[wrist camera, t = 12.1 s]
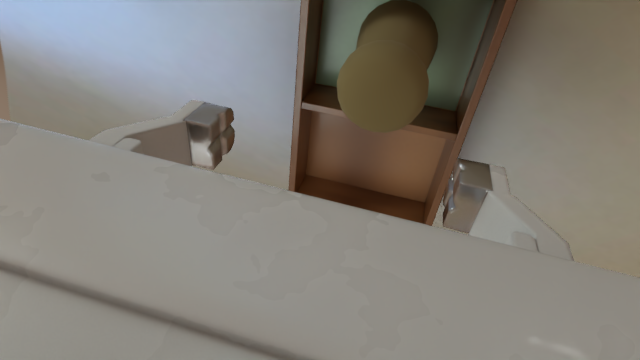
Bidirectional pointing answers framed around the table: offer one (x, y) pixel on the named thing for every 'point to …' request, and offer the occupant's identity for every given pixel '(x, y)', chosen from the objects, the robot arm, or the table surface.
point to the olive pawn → (389, 67)
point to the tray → (401, 145)
